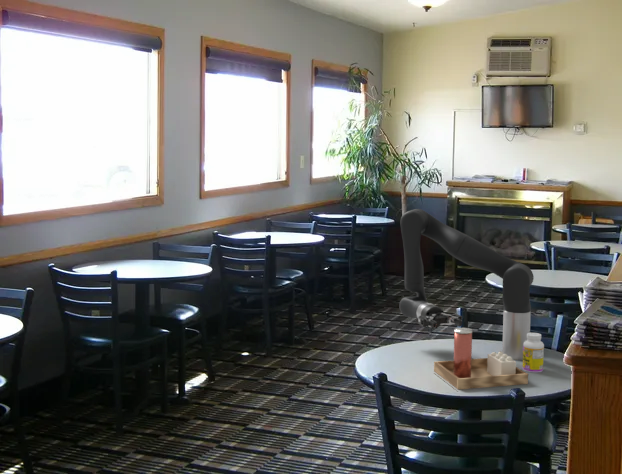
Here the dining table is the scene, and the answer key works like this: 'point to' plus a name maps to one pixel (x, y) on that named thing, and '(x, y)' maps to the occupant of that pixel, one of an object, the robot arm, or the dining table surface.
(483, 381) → the tray
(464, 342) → the coffee tin
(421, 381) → the dining table surface
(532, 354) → the supplement bottle
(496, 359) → the white toy brick
